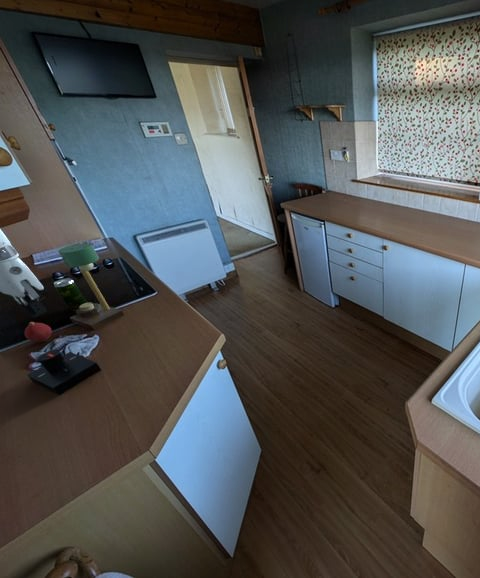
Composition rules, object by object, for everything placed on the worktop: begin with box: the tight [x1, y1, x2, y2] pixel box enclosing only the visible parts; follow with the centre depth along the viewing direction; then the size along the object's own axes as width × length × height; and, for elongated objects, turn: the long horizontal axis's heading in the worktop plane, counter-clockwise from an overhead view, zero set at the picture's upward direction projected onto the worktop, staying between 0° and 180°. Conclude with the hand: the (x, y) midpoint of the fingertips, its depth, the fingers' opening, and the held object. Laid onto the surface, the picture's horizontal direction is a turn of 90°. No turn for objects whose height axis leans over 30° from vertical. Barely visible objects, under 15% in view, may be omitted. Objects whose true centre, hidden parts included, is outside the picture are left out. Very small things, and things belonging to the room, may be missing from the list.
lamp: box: [58, 242, 110, 311], centre depth 101 cm, size 8×8×25 cm
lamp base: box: [69, 302, 125, 331], centre depth 109 cm, size 13×10×4 cm
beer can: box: [53, 277, 88, 312], centre depth 113 cm, size 5×5×12 cm
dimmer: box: [26, 351, 102, 396], centre depth 85 cm, size 13×10×3 cm
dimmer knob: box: [37, 349, 68, 372], centre depth 83 cm, size 4×4×5 cm
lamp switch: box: [80, 301, 94, 311], centre depth 109 cm, size 4×4×2 cm
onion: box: [24, 321, 53, 343], centre depth 97 cm, size 6×6×8 cm
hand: (38, 313), depth 83 cm, fingers closed
